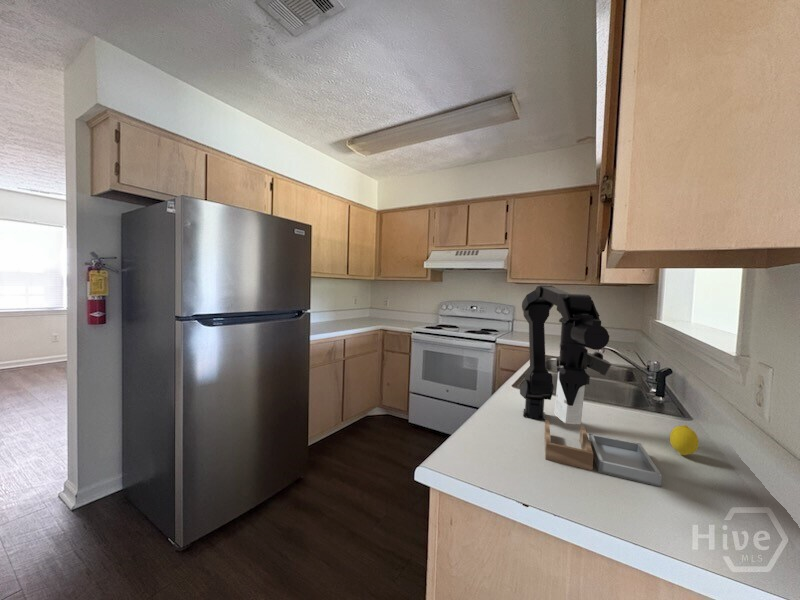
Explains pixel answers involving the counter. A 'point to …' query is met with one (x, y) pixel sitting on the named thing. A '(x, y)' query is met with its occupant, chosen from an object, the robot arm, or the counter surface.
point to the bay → (569, 451)
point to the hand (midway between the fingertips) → (569, 400)
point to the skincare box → (569, 412)
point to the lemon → (684, 440)
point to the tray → (624, 460)
